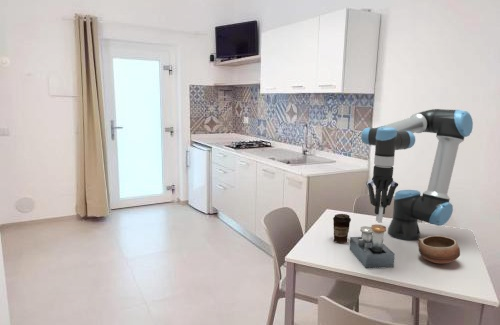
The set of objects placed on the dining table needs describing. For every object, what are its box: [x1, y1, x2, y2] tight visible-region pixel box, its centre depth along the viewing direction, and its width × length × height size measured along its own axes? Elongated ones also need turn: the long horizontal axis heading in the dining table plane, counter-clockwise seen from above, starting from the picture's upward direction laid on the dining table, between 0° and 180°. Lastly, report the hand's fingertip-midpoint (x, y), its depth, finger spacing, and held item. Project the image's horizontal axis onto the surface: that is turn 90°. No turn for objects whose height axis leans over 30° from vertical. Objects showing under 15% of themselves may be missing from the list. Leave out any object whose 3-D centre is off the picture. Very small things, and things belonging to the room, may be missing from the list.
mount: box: [349, 236, 396, 269], centre depth 165 cm, size 12×19×6 cm, turn 5°
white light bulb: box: [359, 225, 373, 243], centre depth 169 cm, size 6×6×10 cm
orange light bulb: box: [370, 224, 387, 252], centre depth 158 cm, size 6×6×10 cm
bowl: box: [417, 235, 461, 264], centre depth 162 cm, size 16×16×10 cm
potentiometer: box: [358, 239, 365, 247], centre depth 163 cm, size 3×3×3 cm
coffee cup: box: [332, 213, 352, 244], centre depth 182 cm, size 9×8×13 cm
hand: (378, 221), depth 156 cm, fingers closed
